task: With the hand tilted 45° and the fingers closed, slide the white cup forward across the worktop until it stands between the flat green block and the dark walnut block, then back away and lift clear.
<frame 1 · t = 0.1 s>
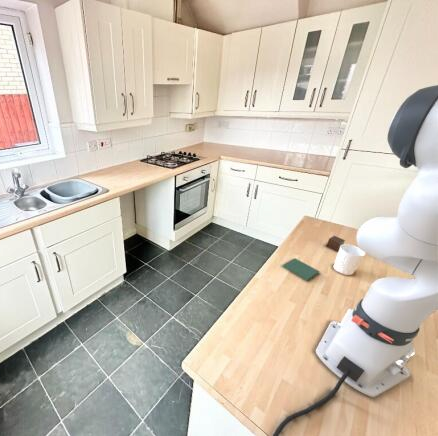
white cup: (343, 270, 99), on the counter
flat green block: (300, 270, 99), on the counter
walnut block: (333, 247, 112), on the counter
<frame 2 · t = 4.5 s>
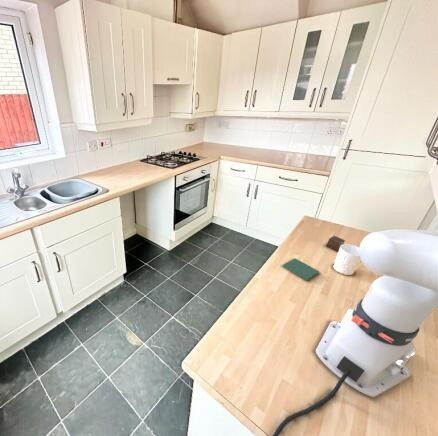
hand: (431, 270, 77), 14 cm above the counter, tool tilted 45°, fingers closed
nothing on the counter moved.
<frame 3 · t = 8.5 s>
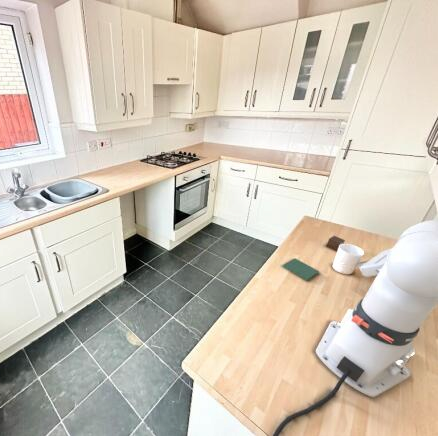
hand: (359, 265, 94), 5 cm above the counter, tool tilted 45°, fingers closed, pressing on white cup
white cup: (341, 269, 99), on the counter, touching gripper
everything else where it was.
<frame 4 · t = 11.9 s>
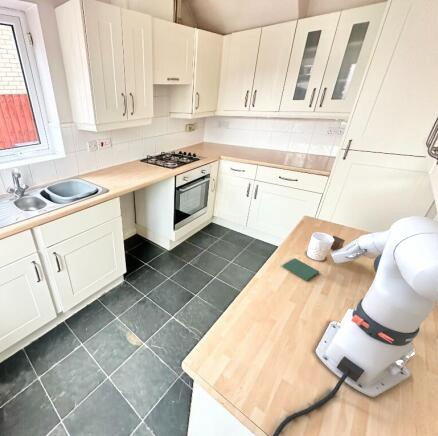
hand: (333, 253, 101), 5 cm above the counter, tool tilted 45°, fingers closed
white cup: (315, 256, 107), on the counter
everything else where it was.
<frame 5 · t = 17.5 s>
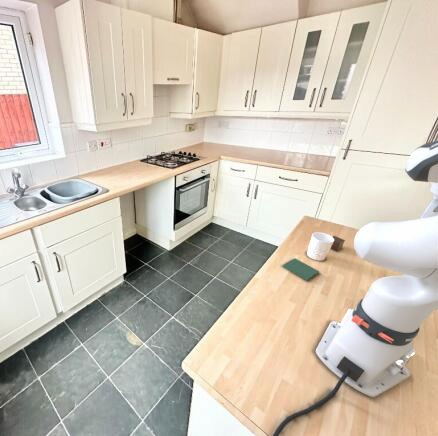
hand: (428, 231, 74), 27 cm above the counter, tool pointing down, fingers closed
nothing on the counter moved.
at the end: white cup inside the target area (0.4 cm from its centre), on the counter; white cup tilted 0°; walnut block moved 0.0 cm from its start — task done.
